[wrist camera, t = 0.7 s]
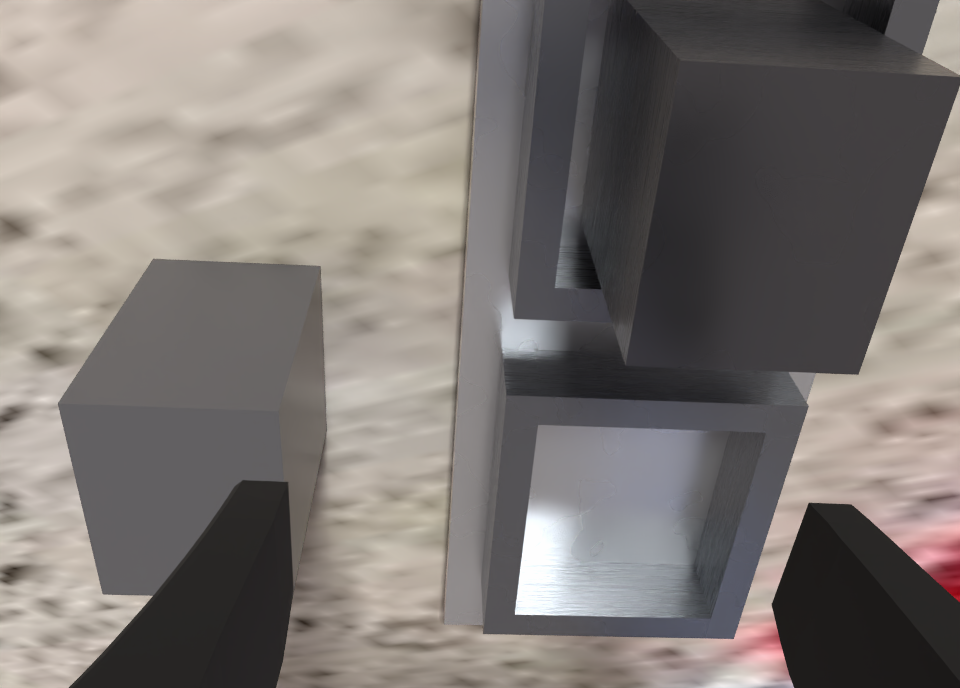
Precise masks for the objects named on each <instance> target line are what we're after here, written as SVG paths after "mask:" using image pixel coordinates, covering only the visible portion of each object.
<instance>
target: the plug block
mask: <svg viewBox="0 0 960 688" xmlns="http://www.w3.org/2000/svg"><path fill="white" fill-rule="evenodd" d="M58 406H59V410H60V415H61V419H62V423H63V427H64V432H65V436H66V440H67V444H68V449H69V453H70V457H71V461H72V466H73V470H74V474H75V478H76V483H77V487H78V491H79V495H80V500H81V504H82V508H83V512H84V516H85V521H86V525H87V529H88V533H89V538H90V542H91V546H92V550H93V555H94V559H95V563H96V567H97V572H98V576H99V580H100V584H101V589H102V593H103V594H108V595H150V596H154V594H155V593H156V592H157V591H158V589H159V588H160V587H161V586H162V584H163V583H164V582H165V581H166V579H167V578H168V577H169V576H170V574H171V573H172V572H173V571H174V569H175V568H176V567H177V566H178V564H179V563H180V562H181V561H182V559H183V558H184V557H185V556H186V554H187V553H188V552H189V550H190V549H191V548H192V546H193V545H194V544H195V542H196V541H197V540H198V538H199V537H200V536H201V534H202V533H203V532H204V530H205V529H206V528H207V526H208V525H209V523H210V522H211V521H212V519H213V518H214V516H215V515H216V513H217V512H218V511H219V509H220V508H221V506H222V505H223V503H224V502H225V500H226V499H227V497H228V496H229V494H230V493H231V491H232V490H233V488H234V486H236V485H237V484H238V483H240V482H241V481H242V480H253V481H278V482H288V486H289V506H290V526H291V546H292V567H293V587H294V588H295V583H296V578H297V573H298V569H299V564H300V559H301V554H302V549H303V544H304V539H305V534H306V529H307V524H308V519H309V514H310V509H311V505H312V500H313V495H314V490H315V485H316V480H317V475H318V470H319V465H320V460H321V455H322V450H323V445H324V441H325V436H326V431H327V424H326V397H325V371H324V344H323V318H322V291H321V266H306V265H283V264H260V263H236V262H213V261H190V260H166V259H153V260H152V262H151V263H150V265H149V266H148V268H147V269H146V271H145V272H144V274H143V275H142V277H141V278H140V280H139V281H138V283H137V284H136V286H135V287H134V289H133V290H132V292H131V294H130V295H129V297H128V298H127V300H126V301H125V303H124V304H123V306H122V307H121V309H120V310H119V312H118V313H117V315H116V316H115V318H114V319H113V321H112V322H111V324H110V325H109V327H108V328H107V330H106V331H105V333H104V334H103V336H102V337H101V339H100V340H99V342H98V343H97V345H96V347H95V348H94V350H93V351H92V353H91V354H90V356H89V357H88V359H87V360H86V362H85V363H84V365H83V366H82V368H81V369H80V371H79V372H78V374H77V375H76V377H75V378H74V380H73V381H72V383H71V384H70V386H69V387H68V389H67V390H66V392H65V393H64V395H63V397H62V398H61V400H60V401H59V403H58ZM293 593H294V590H293ZM292 598H293V597H292Z"/></svg>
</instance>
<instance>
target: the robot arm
mask: <svg viewBox="0 0 960 688" xmlns="http://www.w3.org/2000/svg"><path fill="white" fill-rule="evenodd" d="M293 590H294V587H293V567H292V546H291V526H290V506H289V486H288V482H278V481H253V480H242V481H241V482H240V483H238V484H237V485H236V486H234V488H233V490H232V491H231V493H230V494H229V496H228V497H227V499H226V500H225V502H224V503H223V505H222V506H221V508H220V509H219V511H218V512H217V513H216V515H215V516H214V518H213V519H212V521H211V522H210V523H209V525H208V526H207V528H206V529H205V530H204V532H203V533H202V534H201V536H200V537H199V538H198V540H197V541H196V542H195V544H194V545H193V546H192V548H191V549H190V550H189V552H188V553H187V554H186V556H185V557H184V558H183V559H182V561H181V562H180V563H179V564H178V566H177V567H176V568H175V569H174V571H173V572H172V573H171V574H170V576H169V577H168V578H167V579H166V581H165V582H164V583H163V584H162V586H161V587H160V588H159V589H158V591H157V592H156V593H155V594H154V596H153V597H152V598H151V599H150V600H149V601H148V603H147V604H146V605H145V606H144V607H143V608H142V610H141V611H140V612H139V613H138V614H137V615H136V616H135V617H134V619H133V620H132V621H131V622H130V623H129V624H128V625H127V626H126V627H125V629H124V630H123V631H122V632H121V633H120V634H119V635H118V636H117V637H116V639H115V640H114V641H113V642H112V643H111V644H110V645H109V646H108V648H107V649H106V650H105V651H104V652H103V653H102V654H101V655H100V656H99V657H98V658H97V659H96V660H95V661H94V662H93V663H92V665H91V666H90V667H89V668H88V669H87V670H86V671H85V672H84V673H83V674H82V675H81V676H80V677H79V678H78V679H77V680H76V681H75V682H74V683H73V684H72V685H71V686H70V687H69V688H276V685H277V681H278V677H279V674H280V670H281V666H282V662H283V656H284V650H285V644H286V637H287V631H288V624H289V617H290V611H291V604H292V597H293ZM772 608H773V612H774V616H775V620H776V625H777V629H778V633H779V637H780V642H781V645H782V649H783V653H784V657H785V660H786V664H787V668H788V671H789V675H790V677H791V680H792V683H793V685H794V688H960V602H958V601H957V600H956V599H955V598H954V597H953V596H952V595H951V594H950V593H948V592H947V591H946V590H945V589H944V588H943V587H942V586H941V585H940V584H939V583H937V582H936V581H935V580H934V579H933V578H932V577H931V576H930V575H929V574H928V573H927V572H925V571H924V570H923V569H922V568H921V567H920V566H919V565H918V564H917V563H916V562H915V561H914V560H912V559H911V558H910V557H909V556H908V555H907V554H906V553H905V552H904V551H903V550H902V549H901V548H899V547H898V546H897V545H896V544H895V543H894V542H893V541H892V540H891V539H890V538H889V537H888V536H886V535H885V534H884V533H883V532H882V531H881V530H880V529H879V528H878V527H877V526H875V525H874V524H873V523H872V522H871V521H870V520H869V519H868V518H866V517H865V516H864V515H863V514H862V513H861V512H860V511H858V510H857V509H856V508H855V507H854V506H852V505H850V504H825V503H809V504H808V507H807V509H806V512H805V515H804V518H803V520H802V523H801V526H800V529H799V531H798V534H797V537H796V540H795V542H794V545H793V548H792V551H791V553H790V556H789V559H788V561H787V564H786V567H785V570H784V572H783V575H782V578H781V581H780V583H779V586H778V589H777V592H776V594H775V597H774V600H773V603H772Z"/></svg>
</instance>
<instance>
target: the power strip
mask: <svg viewBox="0 0 960 688" xmlns="http://www.w3.org/2000/svg"><path fill="white" fill-rule="evenodd" d="M938 3H939V0H481V2H480V18H479V35H478V51H477V68H476V85H475V101H474V118H473V134H472V151H471V167H470V184H469V200H468V217H467V234H466V250H465V267H464V283H463V300H462V316H461V333H460V350H459V366H458V383H457V399H456V416H455V432H454V449H453V466H452V482H451V499H450V515H449V532H448V548H447V565H446V581H445V598H444V624H455V625H483V634H515V635H565V636H615V637H665V638H715V639H734V636H735V633H736V630H737V627H738V624H739V621H740V618H741V614H742V611H743V608H744V605H745V602H746V599H747V596H748V593H749V590H750V587H751V583H752V580H753V577H754V574H755V571H756V568H757V565H758V562H759V559H760V556H761V552H762V549H763V546H764V543H765V540H766V537H767V534H768V531H769V528H770V525H771V521H772V518H773V515H774V512H775V509H776V506H777V503H778V500H779V497H780V494H781V490H782V487H783V484H784V481H785V478H786V475H787V472H788V469H789V466H790V462H791V459H792V456H793V453H794V450H795V447H796V444H797V441H798V438H799V435H800V431H801V428H802V425H803V422H804V419H805V416H806V413H807V410H808V407H809V406H808V404H807V403H806V402H807V399H808V396H809V393H810V390H811V387H812V384H813V380H814V377H815V374H816V373H830V374H857V375H858V374H859V371H860V368H861V366H862V363H863V360H864V357H865V354H866V351H867V348H868V346H869V343H870V340H871V337H872V334H873V331H874V329H875V326H876V323H877V320H878V317H879V314H880V311H881V309H882V306H883V303H884V300H885V297H886V294H887V291H888V289H889V286H890V283H891V280H892V277H893V274H894V272H895V269H896V266H897V263H898V260H899V257H900V254H901V252H902V249H903V246H904V243H905V240H906V237H907V235H908V232H909V229H910V226H911V223H912V220H913V217H914V215H915V212H916V209H917V206H918V203H919V200H920V197H921V195H922V192H923V189H924V186H925V183H926V180H927V178H928V175H929V172H930V169H931V166H932V163H933V160H934V158H935V155H936V152H937V149H938V146H939V143H940V141H941V138H942V135H943V132H944V129H945V126H946V123H947V121H948V118H949V115H950V112H951V109H952V106H953V103H954V101H955V98H956V95H957V92H958V89H959V86H960V75H958V74H956V73H954V72H952V71H951V70H949V69H947V68H945V67H943V66H941V65H939V64H938V63H936V62H934V61H932V60H930V59H928V58H926V57H925V56H923V55H922V53H923V50H924V47H925V44H926V41H927V38H928V34H929V31H930V28H931V25H932V22H933V19H934V16H935V13H936V10H937V6H938Z"/></svg>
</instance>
